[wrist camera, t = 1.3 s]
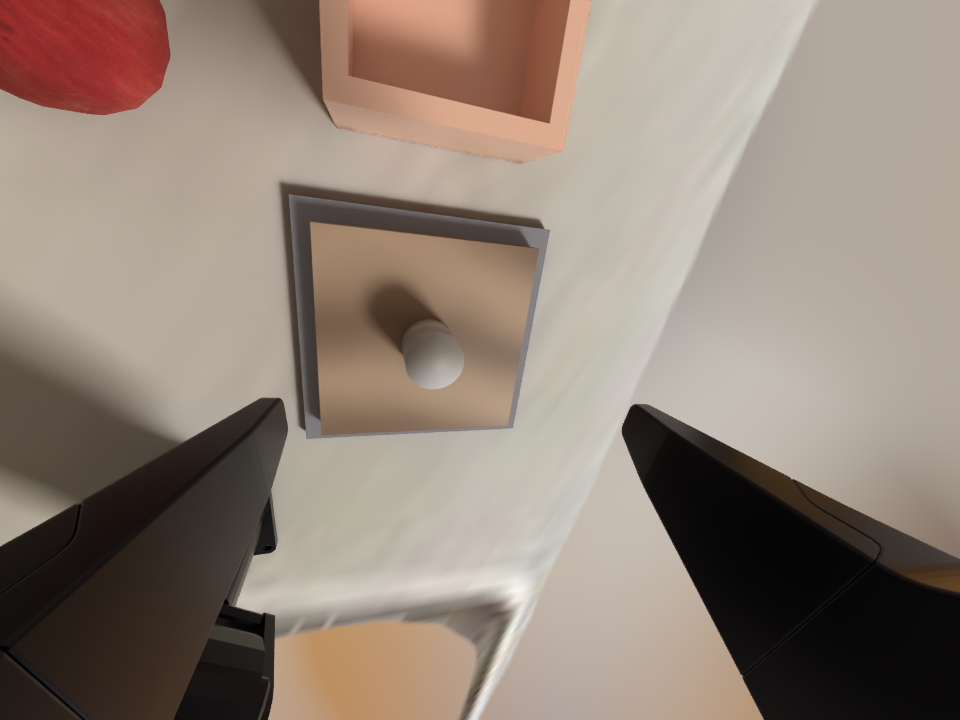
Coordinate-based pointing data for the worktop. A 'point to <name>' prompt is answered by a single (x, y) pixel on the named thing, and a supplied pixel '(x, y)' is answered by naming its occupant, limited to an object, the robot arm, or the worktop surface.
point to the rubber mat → (396, 220)
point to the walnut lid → (416, 328)
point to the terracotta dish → (455, 72)
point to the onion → (83, 52)
